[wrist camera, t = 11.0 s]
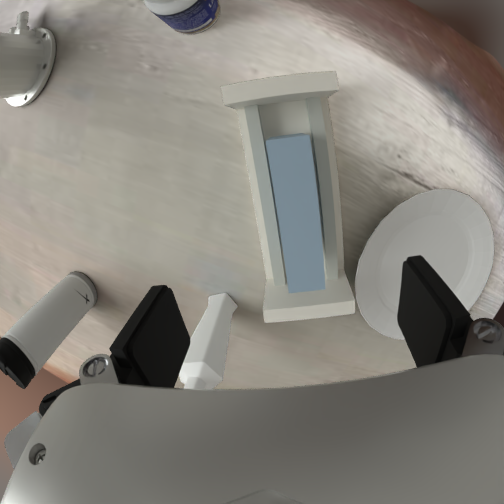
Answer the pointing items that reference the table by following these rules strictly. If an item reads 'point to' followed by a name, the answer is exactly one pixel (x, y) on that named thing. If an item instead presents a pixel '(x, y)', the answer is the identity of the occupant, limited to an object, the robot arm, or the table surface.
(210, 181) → the table surface
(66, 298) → the travel mug
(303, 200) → the door panel
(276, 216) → the track frame
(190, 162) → the table surface
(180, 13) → the pill bottle
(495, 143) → the table surface
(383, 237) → the plate
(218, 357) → the perfume bottle
